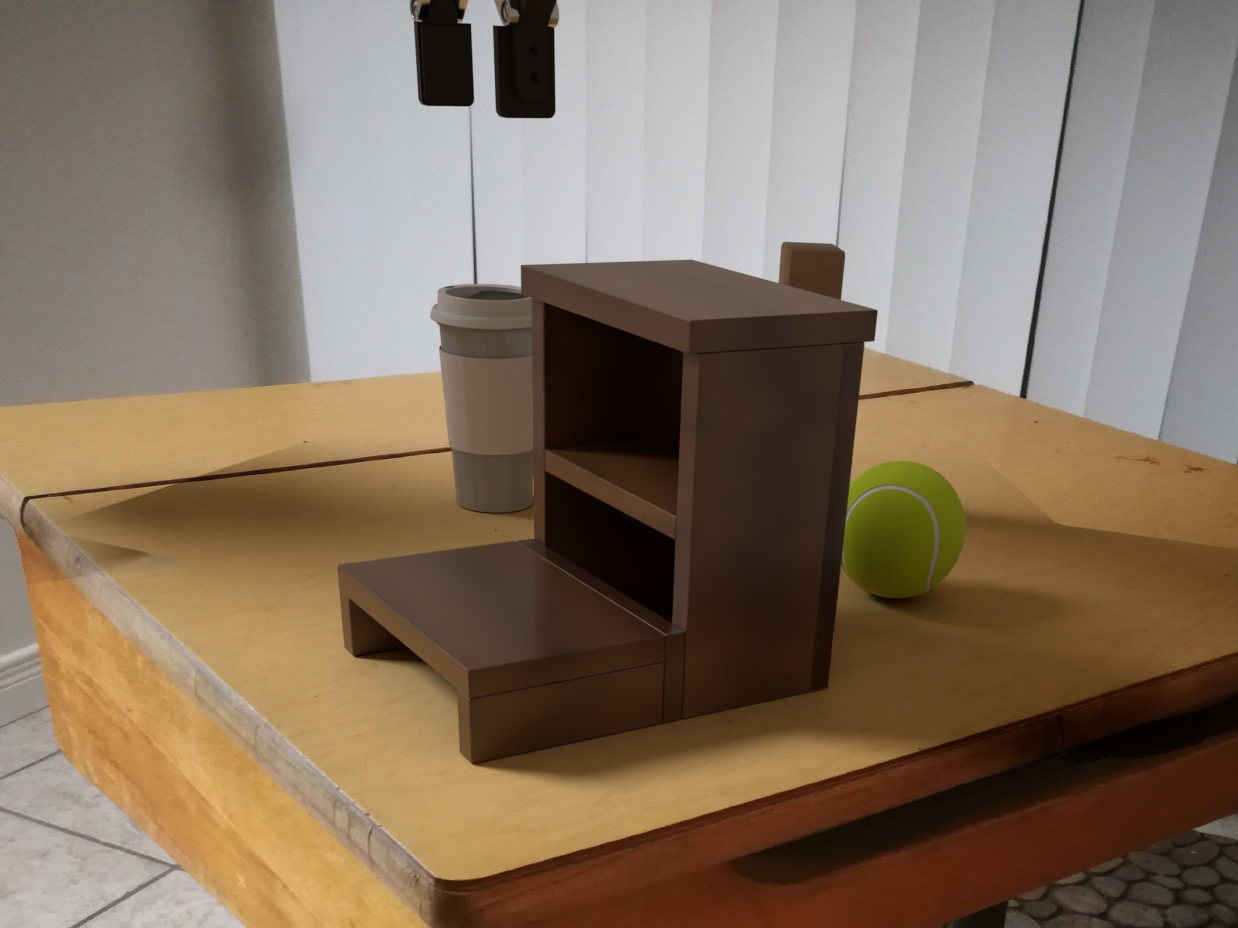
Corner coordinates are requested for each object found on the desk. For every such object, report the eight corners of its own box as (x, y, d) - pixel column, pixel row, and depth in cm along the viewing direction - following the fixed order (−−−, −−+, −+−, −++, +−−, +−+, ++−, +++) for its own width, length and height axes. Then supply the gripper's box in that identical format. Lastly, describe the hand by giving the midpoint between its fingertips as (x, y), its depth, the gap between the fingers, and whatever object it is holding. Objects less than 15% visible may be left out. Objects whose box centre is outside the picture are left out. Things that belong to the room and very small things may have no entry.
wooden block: (821, 511, 90) (846, 251, 82) (770, 510, 90) (790, 248, 82) (802, 483, 96) (824, 236, 88) (754, 482, 96) (771, 234, 87)
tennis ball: (842, 566, 81) (855, 440, 78) (964, 585, 80) (984, 456, 76) (812, 604, 76) (825, 470, 72) (942, 625, 74) (963, 488, 70)
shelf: (471, 764, 57) (455, 333, 49) (343, 648, 67) (311, 271, 58) (837, 686, 66) (878, 310, 58) (677, 593, 76) (692, 259, 67)
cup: (478, 480, 92) (471, 278, 86) (569, 497, 90) (569, 291, 84) (416, 507, 87) (404, 293, 80) (512, 525, 85) (508, 306, 78)
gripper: (328, -288, 73) (358, 101, 82) (475, -341, 61) (492, 123, 70) (463, -268, 76) (478, 102, 85) (628, -314, 64) (625, 123, 73)
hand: (484, 111), depth 78 cm, fingers open, 9 cm apart
